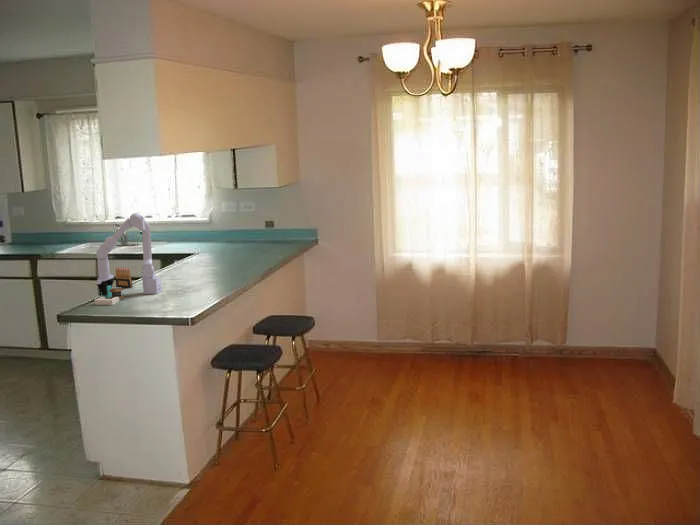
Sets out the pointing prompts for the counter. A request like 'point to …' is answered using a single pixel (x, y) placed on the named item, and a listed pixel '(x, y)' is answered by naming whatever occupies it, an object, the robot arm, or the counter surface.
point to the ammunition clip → (123, 278)
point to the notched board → (106, 301)
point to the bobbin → (116, 293)
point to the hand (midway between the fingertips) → (106, 294)
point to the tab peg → (107, 292)
